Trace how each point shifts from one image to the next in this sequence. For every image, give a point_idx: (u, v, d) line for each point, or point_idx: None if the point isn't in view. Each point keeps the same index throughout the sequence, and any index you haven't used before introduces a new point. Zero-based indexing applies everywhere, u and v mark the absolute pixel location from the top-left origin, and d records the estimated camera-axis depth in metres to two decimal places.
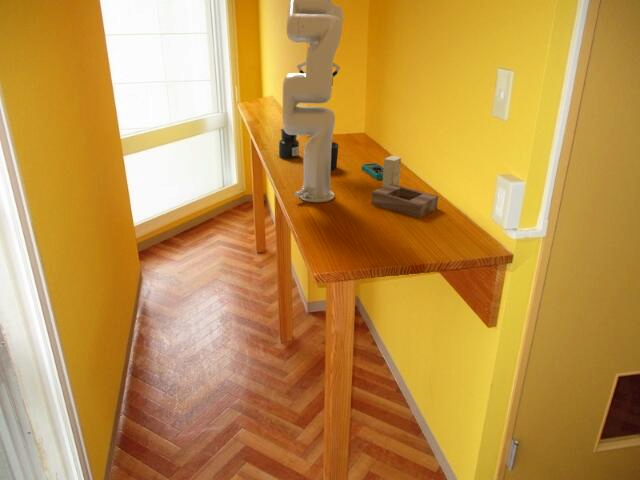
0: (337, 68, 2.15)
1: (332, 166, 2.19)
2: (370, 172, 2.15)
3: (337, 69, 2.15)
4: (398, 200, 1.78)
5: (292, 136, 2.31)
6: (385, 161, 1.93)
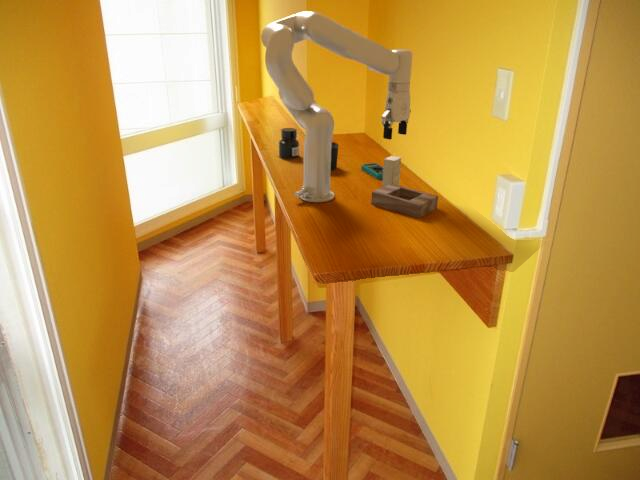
0: None
1: (332, 166, 2.19)
2: (371, 172, 2.15)
3: None
4: (398, 200, 1.78)
5: (292, 136, 2.31)
6: (385, 161, 1.93)
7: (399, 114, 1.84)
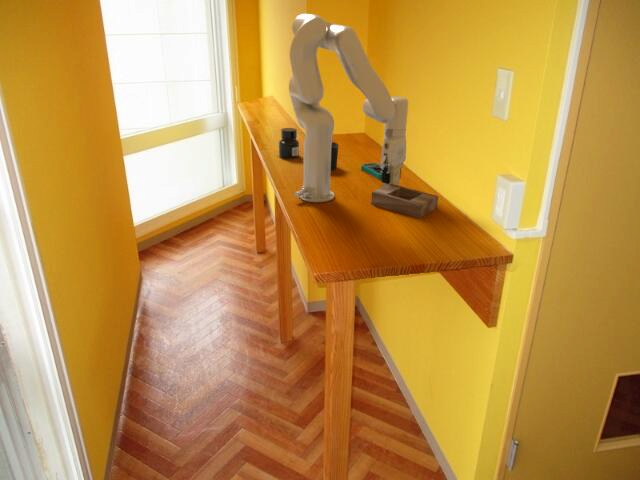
0: None
1: (332, 166, 2.19)
2: (371, 172, 2.15)
3: None
4: (398, 200, 1.78)
5: (292, 136, 2.31)
6: None
7: (395, 158, 1.91)
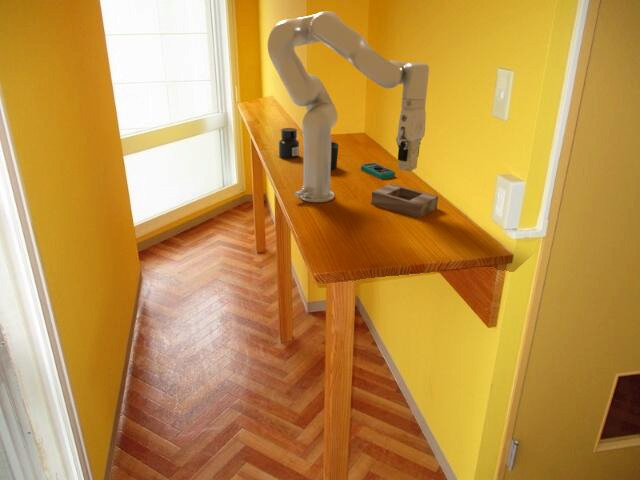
0: None
1: (332, 166, 2.19)
2: (372, 172, 2.15)
3: None
4: (398, 200, 1.78)
5: (292, 136, 2.31)
6: None
7: (414, 133, 1.70)
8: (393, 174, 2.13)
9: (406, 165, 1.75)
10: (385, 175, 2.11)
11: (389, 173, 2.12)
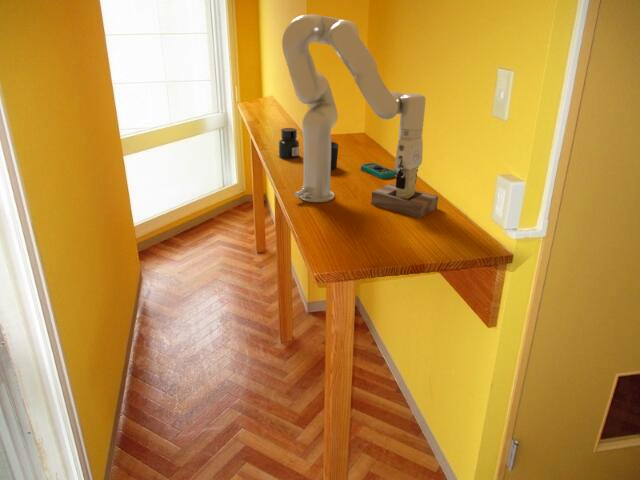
0: None
1: (332, 166, 2.19)
2: (373, 172, 2.15)
3: None
4: (398, 200, 1.78)
5: (292, 136, 2.31)
6: None
7: (411, 162, 1.74)
8: (394, 174, 2.13)
9: (404, 192, 1.79)
10: (386, 175, 2.11)
11: (390, 172, 2.12)
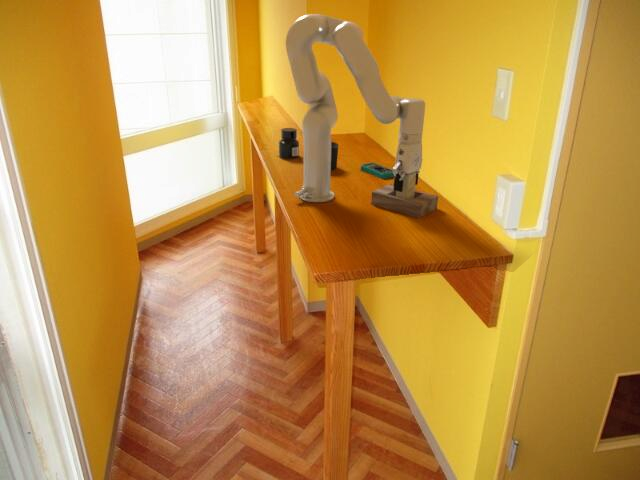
0: None
1: (332, 166, 2.19)
2: (373, 172, 2.15)
3: None
4: (398, 200, 1.78)
5: (292, 136, 2.31)
6: None
7: (411, 166, 1.74)
8: None
9: None
10: (387, 175, 2.11)
11: (391, 172, 2.12)
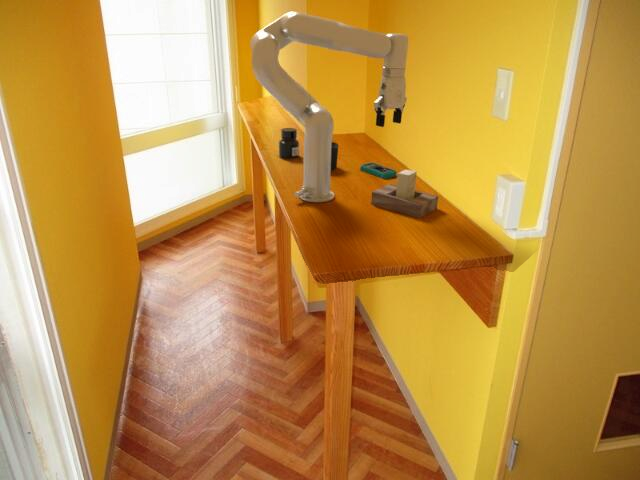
0: (404, 100, 1.87)
1: (332, 166, 2.19)
2: (374, 172, 2.15)
3: (404, 101, 1.87)
4: (398, 200, 1.78)
5: (292, 136, 2.31)
6: (399, 175, 1.78)
7: (392, 101, 1.78)
8: (395, 173, 2.14)
9: None
10: (388, 174, 2.12)
11: (391, 172, 2.13)
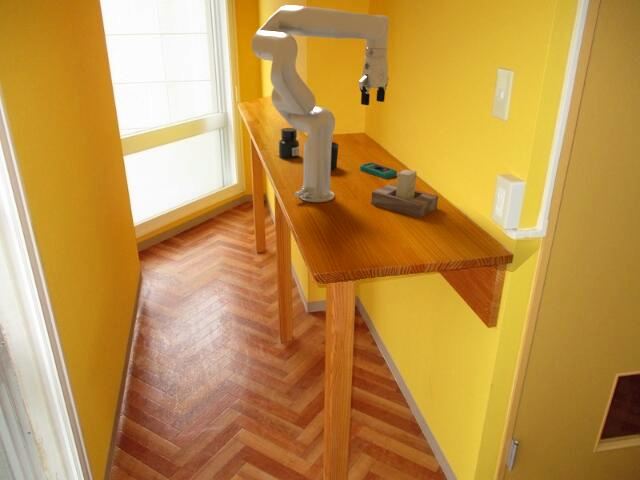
0: (387, 79, 1.96)
1: (332, 166, 2.19)
2: (374, 172, 2.15)
3: (387, 80, 1.96)
4: (398, 200, 1.78)
5: (292, 136, 2.31)
6: (399, 175, 1.78)
7: (376, 80, 1.87)
8: (395, 173, 2.15)
9: None
10: (388, 174, 2.12)
11: (392, 172, 2.13)
